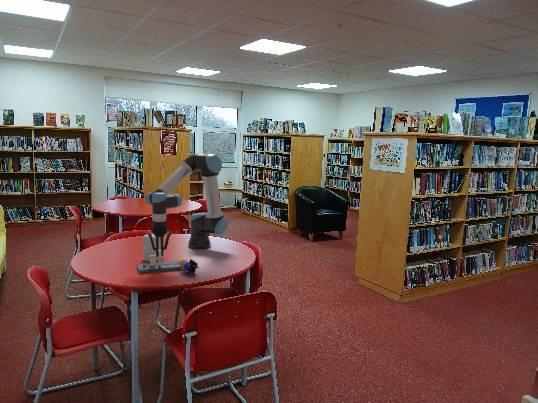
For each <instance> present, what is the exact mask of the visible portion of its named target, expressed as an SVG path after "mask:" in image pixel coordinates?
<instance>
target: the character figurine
mask: <svg viewBox="0 0 538 403" xmlns="http://www.w3.org/2000/svg"><path fill="white" fill-rule="evenodd" d="M186 260H187V259H183V261H181V262H180V268H181V269H183V270H182V271H184V274H185V275H189V276H196V275H197V273H196V270H197V269H199V266H198V262H196V261H195V260H193V259H192V258H190V259H189V260H188V261H186ZM188 262H189V263H188Z"/></svg>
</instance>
